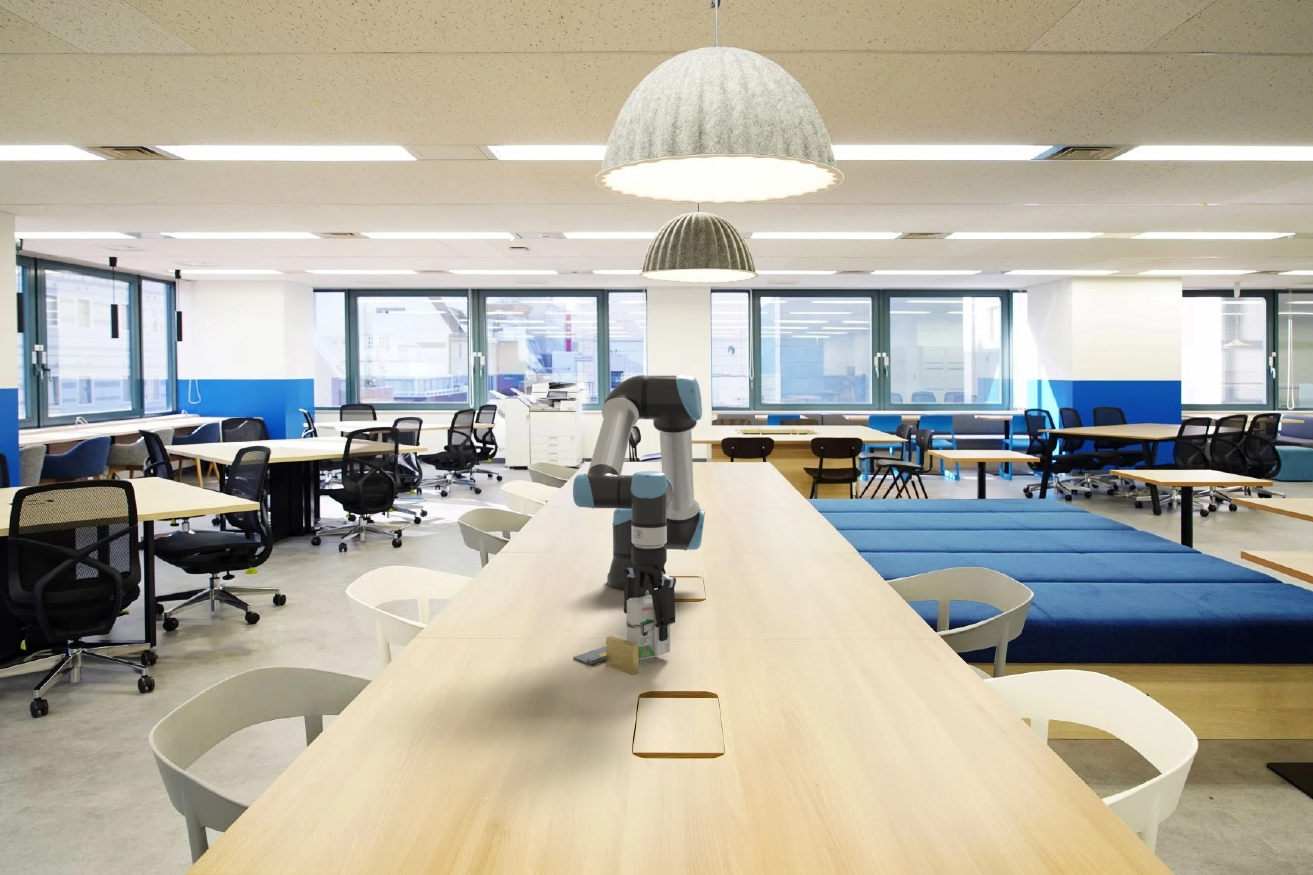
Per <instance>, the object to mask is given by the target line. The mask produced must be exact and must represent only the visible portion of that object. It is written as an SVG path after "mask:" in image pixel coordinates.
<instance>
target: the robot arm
mask: <svg viewBox="0 0 1313 875" xmlns="http://www.w3.org/2000/svg"><path fill="white" fill-rule="evenodd" d="M601 415H602V418H603V419H602V423H601V425H600V426H601V427H600V429H599V433H598V437H597V439H596V440H597V441H596V444H595V446H594V450H593V455H592V457H591V461H590V463H589V468H588V471H587V473H583V474H576V476H575V478H574V480H573V484H572V497H573V498H572V499H573V502H574V504H575V505H576V507H578V508H587V509H614V511H613V516H612V561H611V563H610V567H609V572H608V573H607V574H606V581H607V582H606V584H607V585H608V586H609V587H612V588H614V589H619V590H624V591H623V593H624V594H623V613H624V614H625V615H627V600H629V598H639V597H643V596H647V595H646V594H647V590H648V593H649V595H651V596H652V601H653V606H654V611H655V616H656V620H657V624H656V625H655V626H654V656H653V657H659V656H660V657H661V656H662V655H665V654H667V653H666V640H667V638H668V625H669V624H670V625H672V624H676V598H675V594H676V593H675V586H676V583H677V578H676V577H675V576H672V577H670V576H669V575H667V572H666V570H665V566H666V563H667V560H668V559H667V558H668V557H667V556H668V552H667V550H678V551H679V550H684V551H688V550H689V551H692V550H693V551H695V550H698V549H699V548H700V547H701V545H702V540H703V539H702V538H703V531H704V523H705V515H706V511H705V510H704V509H702V508H701V507H700V504H699V502H698V501H697V500H696V499H695V498H694V496H695V494H694V470H693V465H694V462H693V444H692V442H693V441H692V438H693V437H692V430H693V429H694V428H695V427H696V426H697V425H698V424H697V423H698V422H697V421H700V420H701V419H702V416H703V406H702V396H701V389H700V384H699V382H698V380H697V379H696V378H695V377H694V376H692V375H682V374H678V375H645V374H644V375H643V374H641V375H635V376H631V377H629V378H626V379H625V380H623V381H622V382H621V383H619V384H618V385H616V386H615V387H614V388H613V389H612V390H611V391H610V392H609V394H608V395H607V397H606V398H605V400H604V402H603V405H602V409H601ZM638 420H653V422H652V423H653V427H654V429H655V430H657V431H658V432H659V441H660V443H659V444H660V459H661V462H660V463H661V471H653V470H652V471H651V470H650V471H649V470H648V471H642V470H641V471H637V472H635V473H633V474H631V475H624V474H622V471H623V467H624V463H625V459H626V454H627V449H628V446H629V441H630V438H631V435H632V434H631V433H632V431H633V429H632V428H633V426H635V425H636V424H637V423H638ZM662 619H663V620H662Z"/></svg>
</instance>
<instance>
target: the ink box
mask: <svg viewBox="0 0 1313 875" xmlns="http://www.w3.org/2000/svg"><path fill="white" fill-rule="evenodd" d="M662 620H663V619H662ZM656 624H657V620H656V616H655V611H654V606H653V601H652V596H651V595H650V594H649V595H645V596H643V597H639V598H629V600H627V614H626V639H627V641H629V642H632V643H635V644H638V660H640V659H645V658H649V657H650V658H651V657H655V656H654V626H655V625H656ZM667 653H671V624H669V625H668V638H667V640H666V654H667Z"/></svg>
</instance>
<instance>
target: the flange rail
mask: <svg viewBox="0 0 1313 875" xmlns="http://www.w3.org/2000/svg"><path fill="white" fill-rule="evenodd" d="M605 639H606V640H605V646H602V647H600V648H596V649H593V650H591V651H586V652H584V653H581V654H578V655H575V656H573V657H572V658H573V660H574V661H576V662H580V663H582V664H586V665H588V666H589V667H594V666H596V665H600V664H603V663H605V664H606V666H607V667H610V668H612V669H616V670H618V671H621V672H623V673H626V674H630V675H631V676H634V675H637V674H639V659H638V644H635V643H632V642H629V641H627V638H625V639H622V638H619V637H616V636H614V635H608V636H606V638H605Z"/></svg>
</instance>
